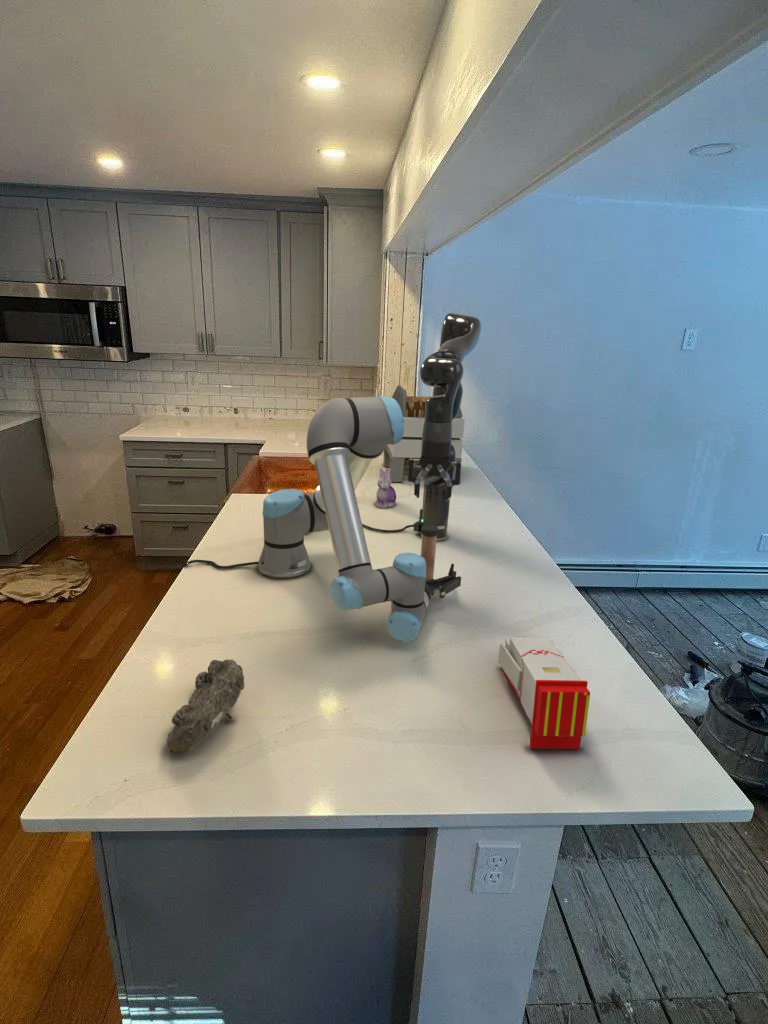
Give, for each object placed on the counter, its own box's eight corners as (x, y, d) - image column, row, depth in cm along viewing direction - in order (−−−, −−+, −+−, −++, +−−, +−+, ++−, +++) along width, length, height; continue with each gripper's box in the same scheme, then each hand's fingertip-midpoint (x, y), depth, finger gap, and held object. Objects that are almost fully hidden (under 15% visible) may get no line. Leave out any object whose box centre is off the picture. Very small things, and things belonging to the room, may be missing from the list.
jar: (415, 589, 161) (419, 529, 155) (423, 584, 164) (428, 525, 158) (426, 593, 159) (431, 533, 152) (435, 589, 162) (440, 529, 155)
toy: (546, 620, 128) (599, 688, 99) (541, 675, 131) (591, 756, 102) (493, 619, 128) (531, 687, 99) (489, 674, 131) (524, 755, 101)
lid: (417, 533, 155) (417, 527, 155) (427, 528, 159) (428, 523, 158) (431, 538, 152) (431, 532, 152) (441, 533, 156) (442, 528, 155)
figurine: (380, 509, 222) (382, 473, 217) (369, 501, 231) (370, 466, 226) (401, 507, 226) (404, 470, 221) (389, 499, 235) (391, 464, 230)
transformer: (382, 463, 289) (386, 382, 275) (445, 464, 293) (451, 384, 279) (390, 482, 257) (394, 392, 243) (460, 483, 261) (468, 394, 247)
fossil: (192, 660, 117) (244, 628, 112) (224, 691, 120) (276, 661, 115) (142, 746, 98) (202, 712, 93) (182, 779, 101) (242, 748, 96)
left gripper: (366, 604, 147) (385, 570, 166) (462, 619, 141) (471, 582, 161) (367, 578, 144) (387, 546, 163) (465, 593, 139) (473, 558, 158)
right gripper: (464, 436, 149) (458, 495, 155) (410, 433, 151) (406, 491, 156) (465, 442, 142) (459, 504, 148) (408, 439, 144) (404, 500, 149)
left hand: (428, 564), depth 162 cm, fingers open, 13 cm apart
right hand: (432, 497), depth 152 cm, fingers open, 7 cm apart
